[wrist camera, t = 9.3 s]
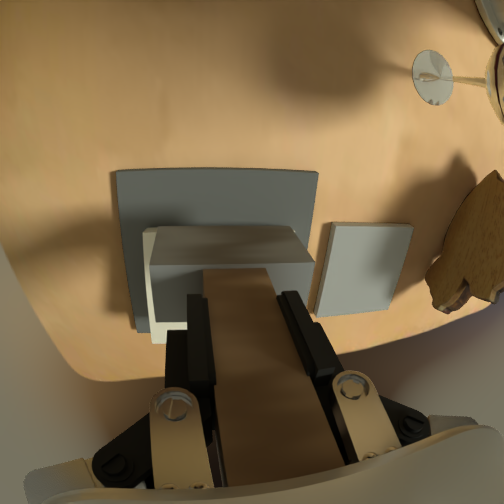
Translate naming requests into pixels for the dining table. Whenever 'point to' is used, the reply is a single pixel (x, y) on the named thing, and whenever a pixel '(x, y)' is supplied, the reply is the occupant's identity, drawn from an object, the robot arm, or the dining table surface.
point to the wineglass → (458, 79)
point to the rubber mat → (206, 208)
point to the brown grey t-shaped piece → (248, 345)
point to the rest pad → (361, 267)
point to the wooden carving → (472, 250)
